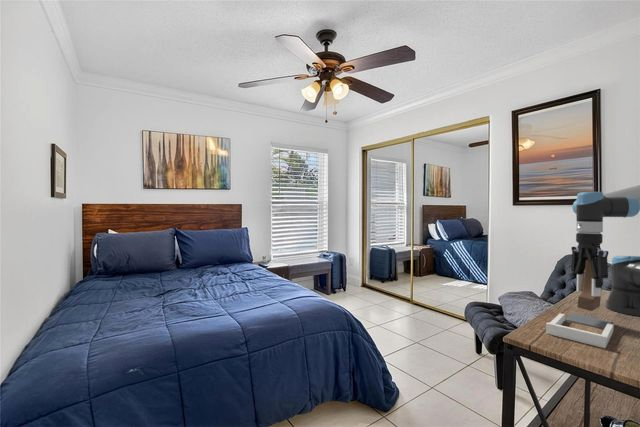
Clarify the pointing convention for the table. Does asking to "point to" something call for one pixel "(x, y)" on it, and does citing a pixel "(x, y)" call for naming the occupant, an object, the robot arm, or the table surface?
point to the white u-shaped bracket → (579, 332)
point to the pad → (588, 320)
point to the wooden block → (588, 291)
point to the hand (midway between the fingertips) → (588, 293)
